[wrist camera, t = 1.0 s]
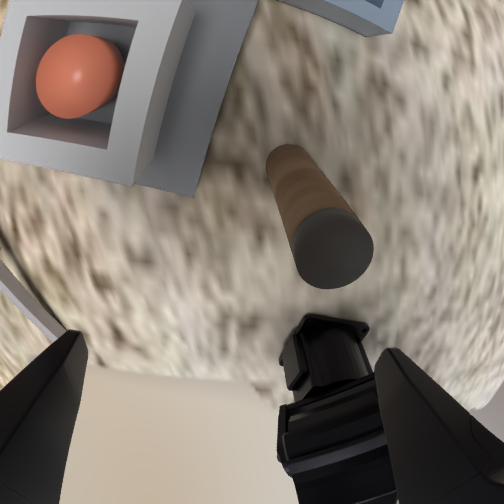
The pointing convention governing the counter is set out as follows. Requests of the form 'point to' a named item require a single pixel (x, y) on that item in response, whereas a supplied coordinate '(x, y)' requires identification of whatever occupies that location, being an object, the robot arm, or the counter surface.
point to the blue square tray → (355, 13)
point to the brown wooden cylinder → (317, 221)
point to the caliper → (28, 304)
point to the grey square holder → (124, 87)
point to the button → (79, 75)
